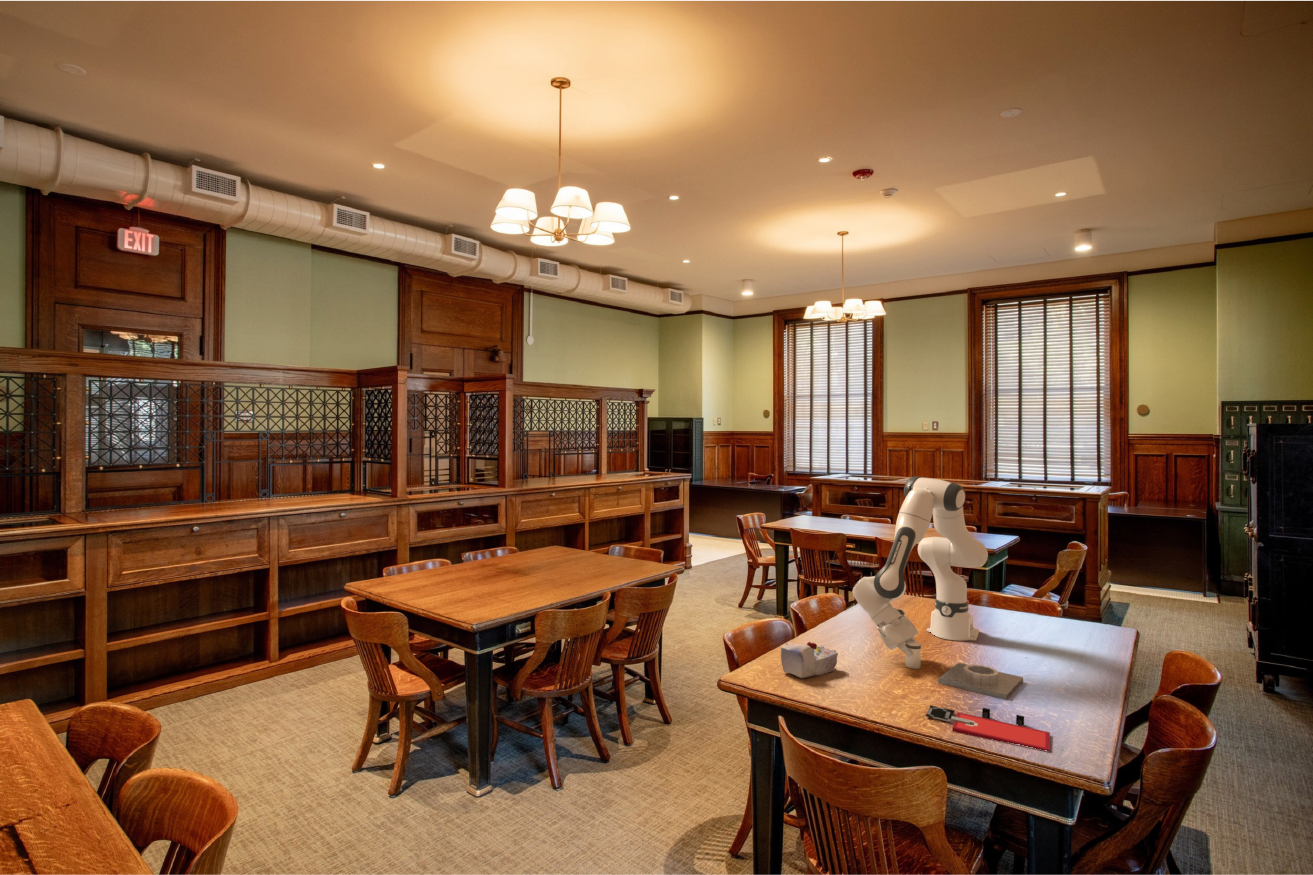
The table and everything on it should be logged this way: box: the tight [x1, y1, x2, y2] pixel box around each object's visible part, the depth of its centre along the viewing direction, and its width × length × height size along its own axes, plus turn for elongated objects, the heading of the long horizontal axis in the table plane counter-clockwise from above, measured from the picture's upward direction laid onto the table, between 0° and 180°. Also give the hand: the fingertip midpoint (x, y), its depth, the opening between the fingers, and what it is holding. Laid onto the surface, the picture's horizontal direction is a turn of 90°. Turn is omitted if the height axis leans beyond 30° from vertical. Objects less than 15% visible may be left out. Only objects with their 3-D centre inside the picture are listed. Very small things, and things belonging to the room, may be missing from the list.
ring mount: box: [938, 662, 1024, 701], centre depth 213 cm, size 20×20×4 cm
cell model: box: [780, 641, 839, 679], centre depth 221 cm, size 13×11×20 cm
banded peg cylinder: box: [904, 640, 922, 670], centre depth 227 cm, size 5×5×8 cm
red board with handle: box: [925, 705, 1051, 753], centre depth 180 cm, size 30×3×15 cm
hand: (914, 653), depth 227 cm, fingers closed on banded peg cylinder, 5 cm apart
